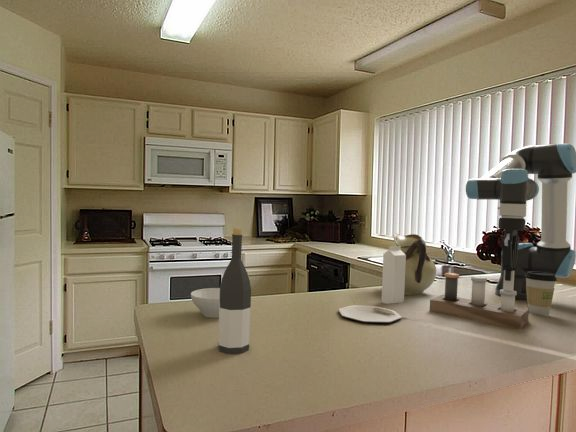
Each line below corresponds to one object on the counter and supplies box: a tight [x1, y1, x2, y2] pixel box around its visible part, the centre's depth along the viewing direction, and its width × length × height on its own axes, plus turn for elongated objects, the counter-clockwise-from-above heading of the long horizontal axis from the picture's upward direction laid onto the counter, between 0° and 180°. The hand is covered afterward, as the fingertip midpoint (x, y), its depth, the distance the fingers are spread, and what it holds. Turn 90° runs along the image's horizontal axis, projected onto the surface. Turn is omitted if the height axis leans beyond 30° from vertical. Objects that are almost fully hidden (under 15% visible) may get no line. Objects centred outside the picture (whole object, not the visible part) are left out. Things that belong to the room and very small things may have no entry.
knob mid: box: [470, 276, 488, 306], centre depth 137 cm, size 5×5×9 cm
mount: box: [429, 294, 529, 330], centre depth 137 cm, size 12×28×5 cm, turn 49°
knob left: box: [499, 289, 517, 312], centre depth 131 cm, size 5×5×9 cm
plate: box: [337, 304, 402, 324], centre depth 136 cm, size 20×20×2 cm
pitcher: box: [393, 233, 437, 296], centre depth 176 cm, size 22×24×25 cm
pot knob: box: [444, 272, 460, 301], centre depth 143 cm, size 5×5×9 cm
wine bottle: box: [217, 228, 252, 355], centre depth 101 cm, size 8×8×30 cm
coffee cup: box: [525, 271, 557, 317], centre depth 146 cm, size 10×10×15 cm
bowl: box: [190, 287, 220, 319], centre depth 131 cm, size 16×16×7 cm
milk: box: [381, 245, 406, 305], centre depth 155 cm, size 6×6×22 cm
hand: (508, 290), depth 131 cm, fingers closed
